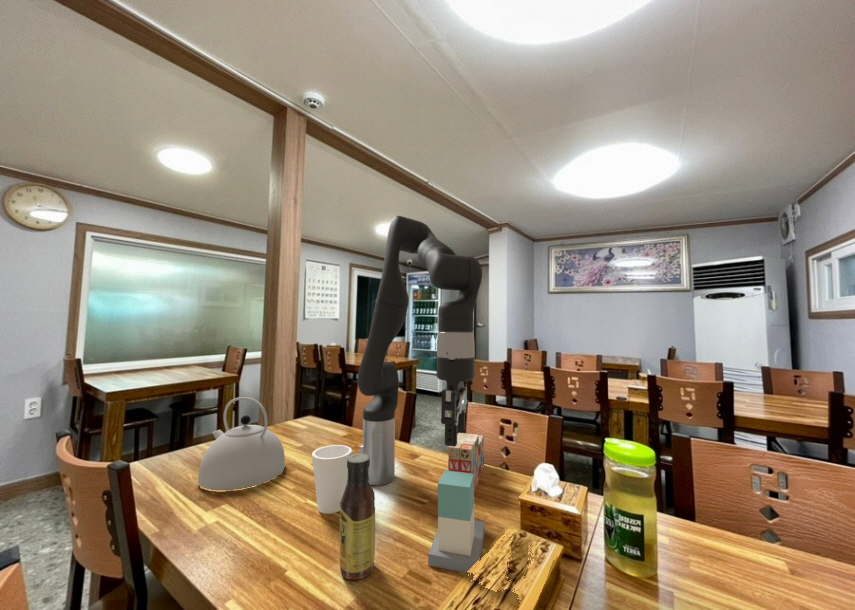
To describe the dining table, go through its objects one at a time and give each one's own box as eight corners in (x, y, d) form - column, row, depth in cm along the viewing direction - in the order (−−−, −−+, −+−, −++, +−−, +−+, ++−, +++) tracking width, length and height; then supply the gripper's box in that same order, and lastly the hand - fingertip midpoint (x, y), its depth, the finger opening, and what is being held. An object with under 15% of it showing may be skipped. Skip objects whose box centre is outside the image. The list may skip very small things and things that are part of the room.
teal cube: (437, 516, 63) (437, 483, 63) (444, 500, 68) (444, 470, 69) (469, 521, 61) (469, 487, 61) (474, 504, 67) (473, 473, 67)
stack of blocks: (465, 462, 108) (464, 423, 109) (484, 465, 106) (484, 425, 107) (448, 494, 88) (447, 445, 88) (471, 498, 86) (471, 448, 86)
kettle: (173, 482, 94) (177, 401, 96) (244, 454, 115) (246, 388, 117) (236, 499, 85) (239, 409, 86) (301, 465, 106) (302, 393, 107)
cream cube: (438, 550, 62) (438, 516, 63) (444, 531, 68) (444, 500, 68) (470, 555, 61) (469, 521, 61) (474, 536, 66) (474, 504, 67)
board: (428, 565, 61) (428, 554, 61) (443, 525, 74) (443, 515, 74) (477, 574, 59) (477, 562, 59) (484, 531, 71) (484, 521, 71)
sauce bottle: (342, 559, 63) (343, 450, 64) (375, 557, 63) (376, 449, 65) (335, 585, 56) (337, 464, 58) (373, 583, 57) (374, 462, 58)
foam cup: (358, 500, 84) (359, 447, 85) (336, 520, 75) (337, 461, 76) (326, 494, 87) (327, 443, 88) (302, 513, 78) (303, 456, 79)
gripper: (444, 351, 74) (444, 426, 73) (427, 357, 61) (427, 448, 60) (478, 352, 72) (478, 429, 71) (469, 358, 59) (469, 453, 58)
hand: (455, 438), depth 66 cm, fingers open, 8 cm apart
